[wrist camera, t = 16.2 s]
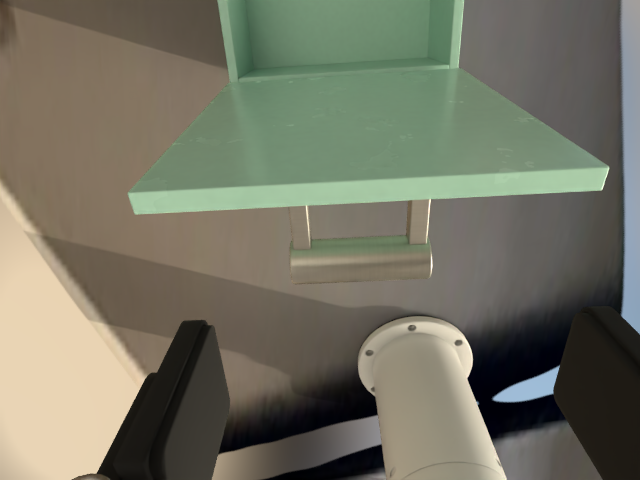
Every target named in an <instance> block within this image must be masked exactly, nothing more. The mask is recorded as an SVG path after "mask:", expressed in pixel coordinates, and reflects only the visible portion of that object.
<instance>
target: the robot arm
mask: <svg viewBox="0 0 640 480" xmlns="http://www.w3.org/2000/svg"><path fill="white" fill-rule="evenodd" d="M472 362H473V358H472V351H471V349H470V346H469V344H468V342H467V340H466V338H465V336H464V335H463V334H462V333H461V332H460V331H459V330H458V329H457V328H456V327H454V326H453V325H451V324H450V323H448V322H445V321H443V320H441V319H437V318H432V317H425V316H413V317H405V318H401V319H397V320H394V321H391V322H389V323H387V324H385V325H383V326H381V327H380V328H378V329H376V330H375V331H374V332H373V333H372V334H371V335H370V336H369V337H368V338H367V339H366V341H365V342H364V343H363V345H362V347H361V349H360V351H359V356H358V371H359V376H360V379H361V381H362V383H363V385H364V386H365V387H366V389H367V390H368V391H369V392H371V393H372V394H373V395H374V396H376V403H377V411H378V418H379V426H380V433H381V440H382V449H383V457H384V464H385V472H386V480H507V479H506V476H505V474H504V471H503V469H502V466H501V464H500V461H499V459H498V456H497V454H496V451H495V448H494V446H493V443H492V441H491V438H490V436H489V433H488V431H487V428H486V426H485V423H484V421H483V418H482V416H481V413H480V411H479V408H478V406H477V403H476V401H475V398H474V395H473V393H472V390H471V388H470V385H469V383H468V380H467V377H468V376H469V373H470V371H471V368H472ZM553 391H554V398H555V401H556V403H557V405H558V406H559V408H560V410H561V411H562V413H563V415H564V416H565V418H566V420H567V421H568V423H569V425H570V426H571V428H572V429H573V431H574V433H575V434H576V436H577V438H578V439H579V441H580V443H581V444H582V446H583V448H584V449H585V451H586V452H587V454H588V456H589V457H590V459H591V461H592V462H593V464H594V466H595V467H596V469H597V471H598V472H599V474H600V476H601V477H602V479H603V480H640V335H639V333H638V332H637V331H636V330H635V329H634V328H633V327H632V326H631V325H630V324H629V323H628V322H627V321H626V320H625V319H623V318H622V317H621V316H620V315H619V314H618V313H617V312H616V311H615V310H614V309H613V308H612V307H608V306H602V307H585V308H583V309H582V310H581V311H580V313H577V314H576V315H575V316H574V318H573V322H572V325H571V329H570V332H569V336H568V339H567V343H566V346H565V350H564V354H563V357H562V361H561V364H560V368H559V371H558V375H557V378H556V382H555V385H554V390H553ZM229 407H230V398H229V392H228V388H227V383H226V379H225V374H224V369H223V365H222V360H221V356H220V351H219V346H218V342H217V337H216V333H215V329H214V326H212V325H208V324H207V322H206V321H205V320H191V321H183V322H182V323H181V325H180V327H179V329H178V331H177V333H176V335H175V337H174V339H173V341H172V343H171V345H170V347H169V349H168V351H167V353H166V355H165V357H164V359H163V362H162V364H161V366H160V368H159V370H158V372H157V373H151V374H149V375H148V376H147V378H146V379H145V381H144V383H143V384H142V386H141V388H140V390H139V392H138V394H137V396H136V399H135V400H134V402H133V404H132V406H131V408H130V410H129V412H128V414H127V416H126V418H125V420H124V421H123V423H122V425H121V427H120V429H119V431H118V433H117V435H116V437H115V439H114V441H113V443H112V445H111V447H110V449H109V451H108V453H107V455H106V456H105V458H104V460H103V463H102V464H101V466H100V468H99V470H98V472H97V474H87V475H83V476H78V477H76V478H74V479H72V480H212V476H213V472H214V468H215V464H216V460H217V456H218V452H219V448H220V444H221V440H222V437H223V433H224V429H225V425H226V421H227V417H228V413H229Z"/></svg>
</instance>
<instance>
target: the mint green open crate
mask: <svg viewBox="0 0 640 480" xmlns="http://www.w3.org/2000/svg"><path fill="white" fill-rule="evenodd" d="M217 1H218V7H219V14H220V21H221V27H222V34H223V40H224V47H225V53H226V60H227V66H228V73H229V80H230V83H237V82H252V81H268V80H283V79H299V78H314V77H329V76H345V75H360V74H376V73H391V72H406V71H422V70H437V69H453V68H458V65H459V53H460V42H461V30H462V18H463V6H464V0H217Z"/></svg>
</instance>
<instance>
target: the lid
mask: <svg viewBox="0 0 640 480" xmlns="http://www.w3.org/2000/svg"><path fill="white" fill-rule="evenodd" d="M608 170H609V166H607V165H606V164H604V163H603V162H601V161H600V160H598V159H597V158H595V157H594V156H592V155H591V154H589V153H588V152H586V151H585V150H583V149H582V148H580V147H579V146H577V145H576V144H574V143H573V142H571V141H570V140H568V139H567V138H565V137H564V136H562V135H561V134H559V133H558V132H556V131H555V130H553V129H552V128H550V127H549V126H547V125H546V124H544V123H543V122H541V121H540V120H538V119H537V118H535V117H534V116H532V115H531V114H529V113H528V112H526V111H525V110H523V109H522V108H520V107H518V106H517V105H515V104H514V103H512V102H511V101H509V100H508V99H506V98H505V97H503V96H502V95H500V94H499V93H497V92H496V91H494V90H493V89H491V88H490V87H488V86H487V85H485V84H484V83H482V82H481V81H479V80H478V79H476V78H475V77H473V76H472V75H470V74H469V73H467V72H466V71H464V70H463V69H461V68H453V69H437V70H422V71H406V72H391V73H376V74H360V75H345V76H329V77H314V78H299V79H283V80H268V81H252V82H237V83H228V84H227V85H226V86H225V87H224V88H223V89H222V91H221V92H220V93H219V94H218V95H217V96H216V97H215V98H214V99H213V100H212V101H211V103H210V104H209V105H208V106H207V107H206V108H205V109H204V110H203V111H202V112H201V113H200V115H199V116H198V117H197V118H196V119H195V120H194V121H193V122H192V123H191V124H190V125H189V126H188V128H187V129H186V130H185V131H184V132H183V133H182V134H181V135H180V136H179V137H178V138H177V140H176V141H175V142H174V143H173V144H172V145H171V146H170V147H169V148H168V149H167V150H166V151H165V153H164V154H163V155H162V156H161V157H160V158H159V159H158V160H157V161H156V162H155V163H154V165H153V166H152V167H151V168H150V169H149V170H148V171H147V172H146V173H145V174H144V175H143V177H142V178H141V179H140V180H139V181H138V182H137V183H136V184H135V185H134V186H133V187H132V188H131V190H130V191H129V192H128V196H129V199H130V202H131V205H132V208H133V211H134V214H154V213H174V212H193V211H212V210H232V209H251V208H270V207H288V208H289V216H290V225H291V233H292V241H291V243H290V272H291V279H292V283H293V284H316V283H339V282H362V281H385V280H408V279H428V278H429V277H430V275H431V271H432V250H431V244H430V240H429V238H428V236H427V234H428V223H429V211H430V200H431V199H444V198H463V197H483V196H502V195H521V194H541V193H560V192H579V191H599V190H602V188H603V185H604V182H605V179H606V176H607V173H608ZM405 200H408V211H407V228H406V235H397V236H376V237H355V238H334V239H314V240H311V229H310V218H309V205H328V204H348V203H367V202H386V201H405Z"/></svg>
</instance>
